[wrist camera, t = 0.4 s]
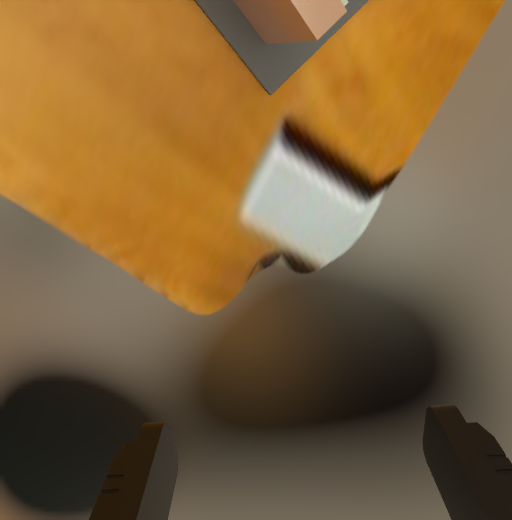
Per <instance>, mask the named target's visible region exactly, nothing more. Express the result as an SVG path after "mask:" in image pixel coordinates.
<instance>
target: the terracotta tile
mask: <svg viewBox="0 0 512 520" xmlns="http://www.w3.org/2000/svg"><path fill="white" fill-rule="evenodd" d="M233 2H234V3H235V4H236V6H237V7H238V8H239V10H240V11H241V12H242V14H243V15H244V16H245V18H246V19H247V20H248V22H249V23H250V24H251V26H252V27H253V28H254V30H255V31H256V32H257V34H258V35H259V37H260V38H261V39H262V41H263V42H264V43H265V44H276V43H289V42H302V41H315V40H318V39H319V38H320V37H321V36H322V35H323V34H324V33H325V32H326V31H327V30H328V29H330V28H331V27H332V26H333V25H334V24H335V23H336V22H337V21H338V20H339V19H340V18H341V17H342V16H343V15H344V14H345V13H346V12H347V10H346V8H345V7H344V6H345V5H346V4H347V3H348V0H233Z"/></svg>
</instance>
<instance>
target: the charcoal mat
mask: <svg viewBox="0 0 512 520" xmlns="http://www.w3.org/2000/svg"><path fill="white" fill-rule="evenodd" d="M195 1H196V3H197V4H198V5H199V6H200V8H201V9H202V10H203V11H204V13H205V14H206V15H207V16H208V18H209V19H210V20H211V22H212V23H213V24H214V25H215V27H216V28H217V29H218V30H219V32H220V33H221V34H222V35H223V37H224V38H225V39H226V40H227V42H228V43H229V44H230V46H231V47H232V48H233V49H234V51H235V52H236V53H237V54H238V56H239V57H240V58H241V59H242V61H243V62H244V63H245V64H246V66H247V67H248V68H249V70H250V71H251V72H252V73H253V75H254V76H255V77H256V78H257V80H258V81H259V82H260V83H261V85H262V86H263V87H264V88H265V90H266V91H267V92H268V93H269V94H270V95H272V94H273V93H274V92H275V91H276V90H277V89H278V88H279V87H280V86H281V85H282V84H283V83H284V82H285V81H286V80H287V79H288V78H289V77H290V76H291V75H292V74H293V73H294V72H295V71H296V70H297V69H298V68H299V67H300V66H301V65H302V64H303V63H305V62H306V61H307V60H308V59H309V58H310V57H311V56H312V55H313V54H314V53H315V52H316V51H317V50H318V49H319V48H320V47H321V46H322V45H323V44H324V43H325V42H326V41H327V40H328V39H329V38H330V37H331V36H332V35H333V34H334V33H335V32H336V31H338V30H339V29H340V28H341V27H342V26H343V25H344V24H345V23H346V22H347V21H348V20H349V19H350V18H351V17H352V16H353V15H354V14H355V13H356V12H357V11H358V10H359V9H360V8H361V7H362V6H363V5H364V4H365V3H366V2H367V1H368V0H348V3H347V4H346V5H345V6H344V7H345V8H346V10H347V12H346V13H345V14H344V15H343V16H342V17H341V18H340V19H339V20H338V21H337V22H336V23H335V24H334V25H333V26H332V27H331V28H330V29H328V30H327V31H326V32H325V33H324V34H323V35H322V36H321V37H320V38H319V39H318V40H315V41H302V42H289V43H276V44H265V43H264V42H263V41H262V39H261V38H260V37H259V35H258V34H257V32H256V31H255V30H254V28H253V27H252V26H251V24H250V23H249V22H248V20H247V19H246V18H245V16H244V15H243V14H242V12H241V11H240V10H239V8H238V7H237V6H236V4H235V3H234V2H233V0H195Z"/></svg>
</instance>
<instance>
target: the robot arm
mask: <svg viewBox="0 0 512 520" xmlns="http://www.w3.org/2000/svg"><path fill="white" fill-rule="evenodd" d="M423 451H424V455H425V458H426V462H427V464H428V467H429V468H430V471H431V473H432V476H433V478H434V480H435V483H436V485H437V487H438V490H439V492H440V494H441V497H442V499H443V501H444V503H445V506H446V508H447V510H448V513H449V515H450V517H451V520H512V463H511V462H510V460H509V459H508V458H506V455H505V453H504V451H503V450H502V448H501V447H500V445H499V444H498V442H497V441H496V439H495V437H494V436H492V435H491V434H490V433H489V432H488V431H487V430H485V429H484V428H483V427H482V426H481V425H480V424H478V423H477V422H476V423H466V421H465V419H464V418H463V416H462V414H461V413H460V411H459V410H458V408H457V407H456V406H455V405H440V406H428V407H427V409H426V416H425V424H424V432H423ZM177 471H178V456H177V452H176V449H175V444H174V441H173V437H172V434H171V430H170V426H169V424H168V423H167V422H160V423H144V424H143V425H142V426H141V428H140V431H139V434H138V437H137V439H136V442H132V443H125V445H124V446H123V447H122V448H121V449H120V451H119V452H118V453H117V454H116V456H115V457H114V458H113V460H112V463H111V465H110V468H109V470H108V473H107V478H106V479H105V481H104V483H103V486H102V488H101V493H100V494H99V496H98V498H97V501H96V503H95V506H94V508H93V511H92V514H91V516H90V518H89V520H168V515H169V510H170V505H171V501H172V497H173V492H174V487H175V483H176V478H177Z"/></svg>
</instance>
